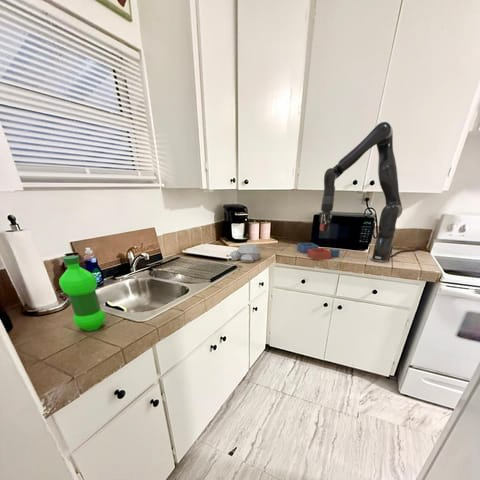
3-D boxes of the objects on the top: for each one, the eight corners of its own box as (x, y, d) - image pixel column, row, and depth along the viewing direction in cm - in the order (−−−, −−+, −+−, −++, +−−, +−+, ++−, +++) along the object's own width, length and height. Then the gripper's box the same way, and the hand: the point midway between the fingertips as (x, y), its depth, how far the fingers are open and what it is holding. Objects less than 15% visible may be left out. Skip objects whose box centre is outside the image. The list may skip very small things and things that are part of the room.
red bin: (322, 254, 179) (323, 248, 177) (330, 258, 170) (331, 252, 168) (307, 255, 177) (308, 249, 175) (314, 259, 168) (315, 253, 166)
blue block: (335, 255, 178) (336, 248, 176) (338, 256, 174) (339, 250, 172) (329, 255, 177) (330, 249, 175) (332, 257, 173) (333, 250, 171)
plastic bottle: (97, 335, 87) (73, 262, 75) (69, 333, 89) (42, 260, 77) (114, 321, 96) (96, 253, 84) (89, 319, 97) (67, 252, 85)
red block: (325, 229, 182) (326, 223, 180) (328, 230, 178) (329, 223, 176) (319, 230, 181) (320, 223, 179) (322, 231, 177) (323, 224, 175)
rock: (254, 264, 159) (254, 248, 155) (225, 261, 167) (225, 245, 162) (264, 257, 174) (265, 242, 169) (237, 254, 181) (237, 240, 177)
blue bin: (310, 248, 195) (311, 242, 193) (317, 252, 185) (318, 245, 183) (296, 249, 193) (297, 243, 191) (303, 253, 183) (303, 246, 181)
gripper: (338, 203, 166) (334, 231, 174) (327, 202, 178) (324, 228, 187) (327, 204, 165) (323, 232, 173) (317, 202, 177) (314, 228, 185)
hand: (324, 229), depth 180 cm, fingers closed on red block, 4 cm apart
